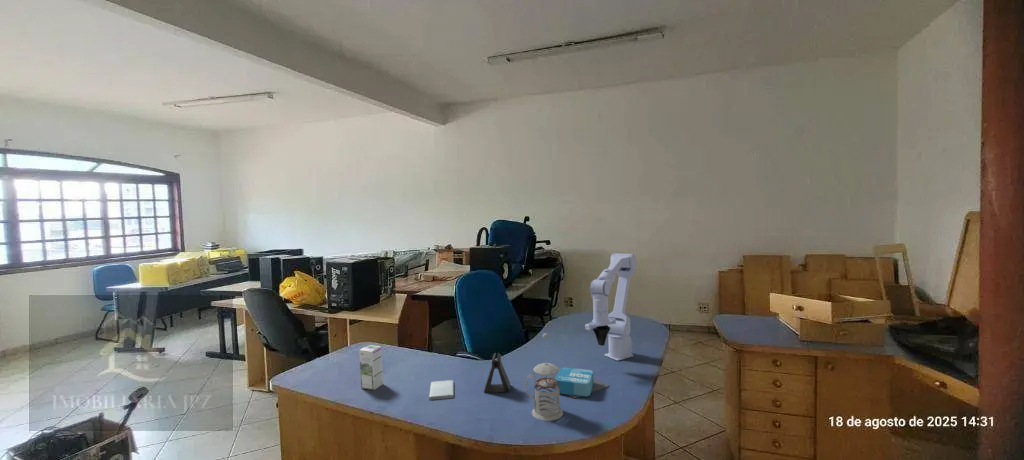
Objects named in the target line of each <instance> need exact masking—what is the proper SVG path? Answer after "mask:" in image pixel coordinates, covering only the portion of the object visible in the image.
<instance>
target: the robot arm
mask: <svg viewBox="0 0 1024 460" xmlns="http://www.w3.org/2000/svg"><path fill="white" fill-rule="evenodd" d="M609 259H610V261H609V263H610V264H609V265H608V268H604V269H603V270H602V272H600V274H599V275H598V277H597V278H596V279H592V280H591V282H590V286H589V291H590V295H591V296H590V297H591V299H592V311H593V312H592V313H593V315H592V316H593V319H592V320H591V321H590V322H589V323H588V322H587V323H585V325H584V328H585V330H587V331H593V332H594V335H595V337H596V341H597V344H598V345H599V346H601V347H603V346H605V344H606V340H607V338H608V352H607V353H604V356H605V357H607V358H610V359H611V360H615V361H616V362H618V361H622V360H625V359H629V358H632V357H634V354H633V348H632V347H633V343H632V338H631V336H630V332H631V319H630V318H629V316H628V315H627V314H626V309H627V303H628V297H629V289H630V283H631V277H632V276H633V275H635V273H636V268H637V264H638V263H637V257H636V255H635V253H617V252H613V253H612V254H611V255H610V258H609ZM616 274H617V276H618V281H617V286H616V293H615V298H614V304H613V310H612V311H611V312H610V313H609V294H610V293H611V289H612V284H613V282H615V280H616V277H617V276H616ZM607 336H608V337H607Z"/></svg>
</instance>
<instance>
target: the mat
mask: <svg viewBox="0 0 1024 460" xmlns="http://www.w3.org/2000/svg"><path fill="white" fill-rule="evenodd" d="M556 376H557V374H554V375H550V376H547V378H554V379H555V378H556ZM609 387H610V385H608V384H607V383H604V382H603V381H600V380H598V379H597V378H595V377H594V384H593V387H592V391H591V393H595V392H597V391H602V390H603V389H606V388H609ZM566 395H568V396H569V397H571V398H572V399H578V398H579V397H581V396H577V395H569V394H566Z"/></svg>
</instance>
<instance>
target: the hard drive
mask: <svg viewBox="0 0 1024 460" xmlns="http://www.w3.org/2000/svg"><path fill="white" fill-rule="evenodd" d="M429 386H430V387H429V395H428V401H433V400H435V401H436V400H443V399H454V380H453V379H450V380H447V379H446V380H437V381H431V382H430V385H429Z"/></svg>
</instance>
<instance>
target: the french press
mask: <svg viewBox="0 0 1024 460" xmlns="http://www.w3.org/2000/svg"><path fill="white" fill-rule="evenodd" d="M542 338H543V339H544V343H545V353H547V338H549V333H546V332H545V333H543V334H542ZM559 370H560V367H558V366H557V365H556V364H553V363H550V362H542V363H539V364H537V365H535V366H534V367H533V372H534V373H533V372H532V373H531V374H529V375H527V377H526V378H525V381H524V389H525V393H526V395H527V396H528V397H529V398H530V399H532V400H533V407H534V408H533V409H532V410H531V415H532V416H533V417H534V418H535V419H537V420H540V421H546V422H549V421H551V422H552V421H555V420H558V419H559V420H560V418H562V417H563V415H564V411H563V409H561V407H560V406H561V405H560V401H561V399H560V393H559V385H558V381H557V380H556V379H554V378H548V376H555V375H557V374H558V372H559ZM535 374H537V375H540V376H545V377H539V378H537V379H536V376H535ZM531 378H533V380H535V382H534V395H533V394H531V393H529V392H528V389H527V386H528V385H527V384H528V381H530V379H531ZM551 389H552V390H551ZM545 390H546V391H545ZM555 390H556V391H555Z"/></svg>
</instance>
